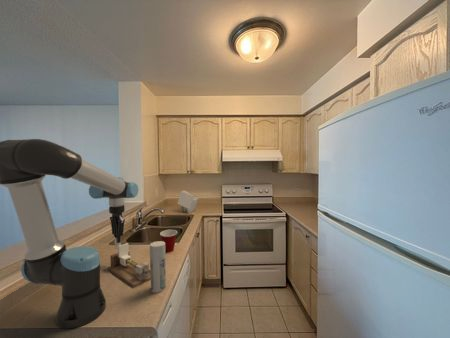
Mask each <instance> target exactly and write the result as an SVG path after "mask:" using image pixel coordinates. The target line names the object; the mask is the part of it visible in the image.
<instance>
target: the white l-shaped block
mask: <svg viewBox="0 0 450 338" xmlns="http://www.w3.org/2000/svg"><path fill="white" fill-rule="evenodd" d="M129 249H130V247H129V243H128V242H126V243H123V244H122V243H121V245H119V246H118V249H117V250H118V252H117V254H118V257H119V258H120V264H122V265H123V266H126V265H129V264H128V263H127V262H126V260H127V259H128V260H130V261H131V260H132V256H131V255H130V251H129ZM128 254H129V255H128Z"/></svg>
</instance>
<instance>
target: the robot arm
mask: <svg viewBox="0 0 450 338" xmlns="http://www.w3.org/2000/svg"><path fill="white" fill-rule="evenodd" d="M46 176H53V177H59V178H61V179H66V180H67V179H73V180H75V181H78V182H81V183H83V184H86V185H88V186H89V187H88V194H89V197H91V198H92V199H96V200H97V199H99V200H100V199H103V198H106V199H108V206H109V207H108V211H109V212H108V213H109V214H111V216H109V219H110V227H111V234H112V235H113V237H114V238H113V239H114V249H115V250H118V246H119V245H122V240H121V239H122V236H124V227H125V222H126V219H125V218H123V213H124V212H125V200H126V199H132V198H133V199H134V198H136V197H137V196H138V194H139V186H138V185H139V184H137V183H136V182H131V181H130V182H127V181H125V180H124V177H121V176H120V177H119V176H116V175H113V174H111V173H110V172H108V171H105V170H104V169H102V168H100V167H98V166H95V165H94V164H92V163H90V162H87V161H86V160H83V158H82V156H81V155H80V154H79V153H77V152H74V151H73V150H70V149H69V148H67V147H65V146H63V145H60V144H58V143H55V142H52V141H50V140H47V139H41V138H30V139H6V140H1V141H0V186H2V187H5V188H7V189H8V193H9V195H10V198H11V201H12V204H13V207H14V210H15V213H16V216H17V217H16V218H17V219H18V222H19V225H20V230H21V232H22V234H23V236H24V241H25V243H26V244H25V245H26V247H27V249H28V250H27V251H26V253H25V255H24V260H23V264H21V266H20V272H21V275H22V277H23V279H24V280H26V281H27V282H30V283H32V284H37V285H53V286H61V294H62V295H61V300H60V304H59V307H58V310H57V313H56V317H55V320H56V321H55V323H56V325H57V327H58V328H60V329H74V328H78V327H82V326H85V325H87V324H89V323H91V322H93V321H94V320H96V319H97V318H98V317H100V316H101V315H102V314H103V313H104V311H105V310H106V307H107V302H106V301H107V300H106V297H105V295H104V292H103V290H102V288H101V258H100V252H99V250H98V249H97V248H95V247H93V246H87V245H85V246H84V245H83V246H75V247H71V248H68V249H67V247H66V242H65V241H64V240H61V239H59V238H58V233H57V230H56V227H55V223H54V220H53V217H52V212H51V209H50V205H49V203H48V198H47V195H46V193H45V189H44V185H43V180H44V178H46Z"/></svg>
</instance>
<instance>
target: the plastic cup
mask: <svg viewBox="0 0 450 338" xmlns="http://www.w3.org/2000/svg"><path fill="white" fill-rule="evenodd" d="M159 234H160V237H161V241H163V242H165V253H171V252H174V250H175V245H176V237H177V234H178V231H177V230H176V229H165V230H161V231H160V233H159Z"/></svg>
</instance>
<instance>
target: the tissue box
mask: <svg viewBox="0 0 450 338" xmlns="http://www.w3.org/2000/svg"><path fill="white" fill-rule="evenodd" d="M177 200H178V201H177V205H179V206H181V207H180V209H181V210H182V212H183V213H185V212H186V213H187V214H191V213H193V212H194V210H195V209H196V207H197V204H198V200H199V197H197V196H195V195H192V194H191V193H190V192H188V191H187V190H185V189H183V190H181V191H180V194H179V197H178V199H177Z"/></svg>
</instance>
